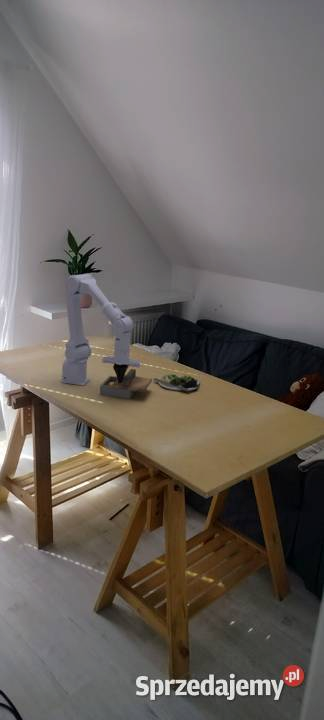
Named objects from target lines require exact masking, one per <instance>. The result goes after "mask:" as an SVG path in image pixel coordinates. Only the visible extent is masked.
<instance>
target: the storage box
mask: <svg viewBox="0 0 324 720" xmlns="http://www.w3.org/2000/svg"><path fill="white" fill-rule="evenodd" d="M116 380H117V375H116V376H115V375H108V377H107V378H106V379H105V380H104V381H103V382H102V383H101V384H100V385H99V395H100V396H107V397H112V398H120V399H125V400H131V398H132V396H133V395H134V394H135V392H136V391H134V390H127V389H121V388H114V387H111V386H108V384H109V383H110V382H114V383H115V382H116Z"/></svg>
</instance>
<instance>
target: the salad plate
mask: <svg viewBox="0 0 324 720" xmlns="http://www.w3.org/2000/svg"><path fill="white" fill-rule="evenodd" d="M152 381H154V382H156V383H158V384H159V385H160V387H162V388H164V389H166V390H168V391H169V390H170V391H176V392H181V393H182V392H183V393H194V392H196V391H197V390H198V389H199V387H200V384H201V381H200V379H199V378H197V377H194V376H191V375H186V374H185V375H179V374H165V375H163V376H162V377H161V378H160V379H159V378H152Z"/></svg>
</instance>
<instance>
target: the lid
mask: <svg viewBox="0 0 324 720" xmlns="http://www.w3.org/2000/svg"><path fill="white" fill-rule="evenodd" d="M136 372H137V369H134V368H131V369H130V370H129V371H128V372H127V373H125V375H124V378H123V382H122V383H118V379H117V380H116V382H115V383H114V384H113V387H114V388H121V389H127V390H134V391H135V392H140V393H141V392H142V393H145V392H146V390H147V389H148V387H149V386H150V384H151V383H152V381H153V378H150V377H143V376H136Z"/></svg>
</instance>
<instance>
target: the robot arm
mask: <svg viewBox="0 0 324 720" xmlns="http://www.w3.org/2000/svg"><path fill="white" fill-rule="evenodd" d="M64 282H65V302H66V312H67V320H68V321H67V323H68V330H69V339H68V340H67V341H66V343H65V350H64V357H65V359H64V360H63V362H62V367H61V371H62V373H61V374H62V375H61V377H62V378H61V379H62V380H61V383H64V384H71V385H78V386H85V385H86V383H88V382H89V381H90V379H91V378H90V377H88V375H87V371H88V370H87V367H88V361H89V358H90V357H91V355H92V348H91V346H90V343H89V339H87V338H86V337H85V336H84V335H85V334H84V326H83V317H82V307H81V297H83V295H84V294H86V295H90V297H91V298H92V299H93V300H94V301H95V302H96V303H97V304H98V305H99V306H100V307H101V312H102V314H103V315H104V317H105V318H106V319H107V320H108V321H109V322H110V324H111V328H112V331H113V336H114V347H113V348H114V353H113V356H103V357H102V362H101V363H102V364H113V366H112V368H113V370H114V372H115V375H116V377H117V379H118V383H122V382H123V378H124V375H126V374H127V373H126V372H127V371H128V368H129V367H133V368H137V369H139V368H140V367H141V361H140V360H136V359H135V360H134V359H130V349H131V333H132V331H133V330H134V327H135V322H134V320H133V318H132V317H131V316H128V315H126V314H125V313H123V312H122V311H121V309H120V308H119V307H118V304H117V303H116V302H113V301H111V302H110V300H108V298H107V297H106V296H105V294H104V293H103V292H102V290H101V289H100V288H99V285H97V279H96V278H94V276H93V275H92V274H91V273H87V272H86V273H83V274H75V275H74V274H72V275H71V274H70V275H69V276H68V277H67V279H66V280H65V281H64Z"/></svg>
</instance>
